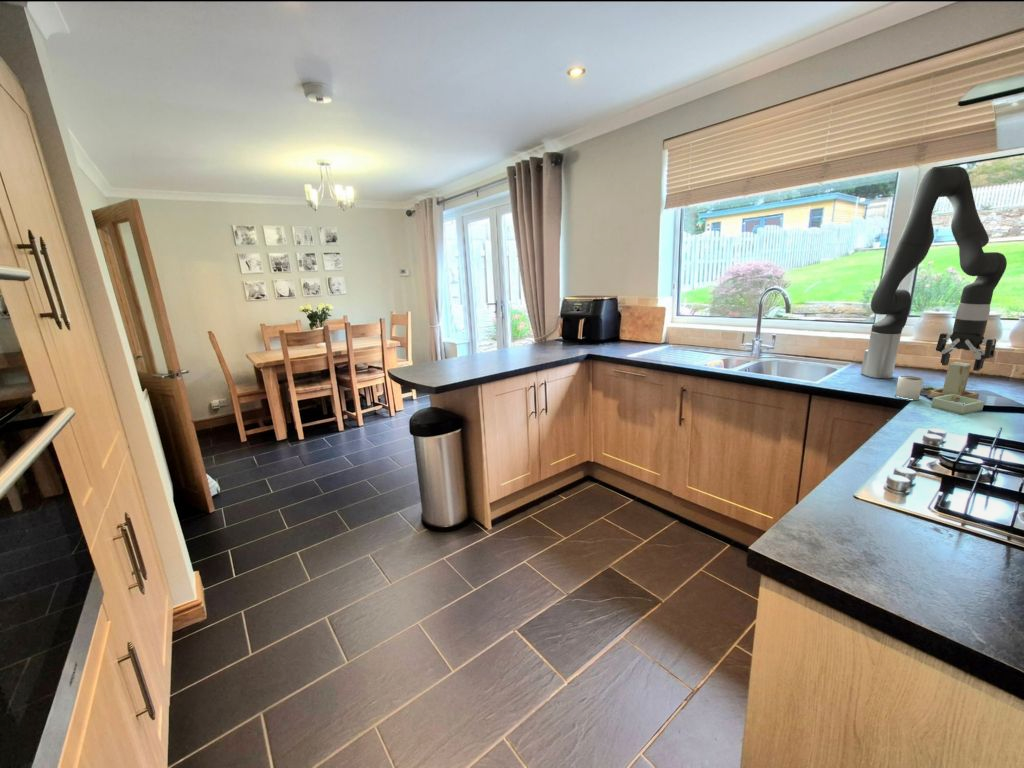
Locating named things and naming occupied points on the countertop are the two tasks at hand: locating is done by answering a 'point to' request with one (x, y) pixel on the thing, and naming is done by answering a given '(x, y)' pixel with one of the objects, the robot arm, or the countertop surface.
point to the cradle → (938, 392)
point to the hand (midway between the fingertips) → (960, 367)
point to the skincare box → (956, 378)
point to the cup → (909, 387)
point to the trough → (961, 409)
